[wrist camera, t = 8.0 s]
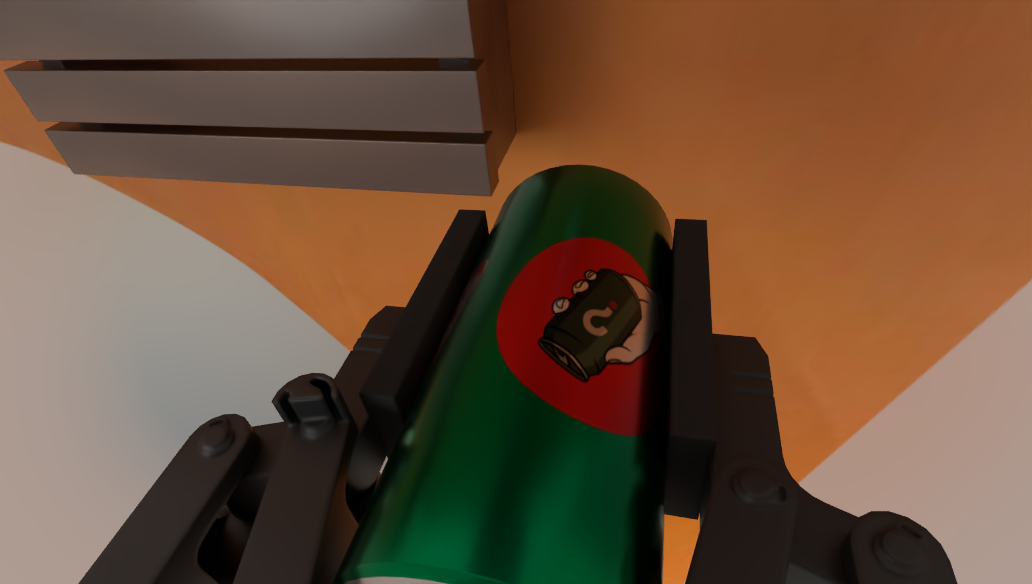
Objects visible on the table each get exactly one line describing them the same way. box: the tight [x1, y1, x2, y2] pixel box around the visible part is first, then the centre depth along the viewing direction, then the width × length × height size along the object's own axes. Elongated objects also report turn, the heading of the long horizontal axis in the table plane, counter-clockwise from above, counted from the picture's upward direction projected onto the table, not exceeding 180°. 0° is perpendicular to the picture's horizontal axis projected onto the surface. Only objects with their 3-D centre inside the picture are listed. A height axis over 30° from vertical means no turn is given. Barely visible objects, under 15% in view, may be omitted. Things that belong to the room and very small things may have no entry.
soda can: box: [333, 165, 672, 584], centre depth 12 cm, size 5×5×12 cm
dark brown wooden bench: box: [0, 0, 516, 196], centre depth 27 cm, size 14×26×12 cm, turn 94°
